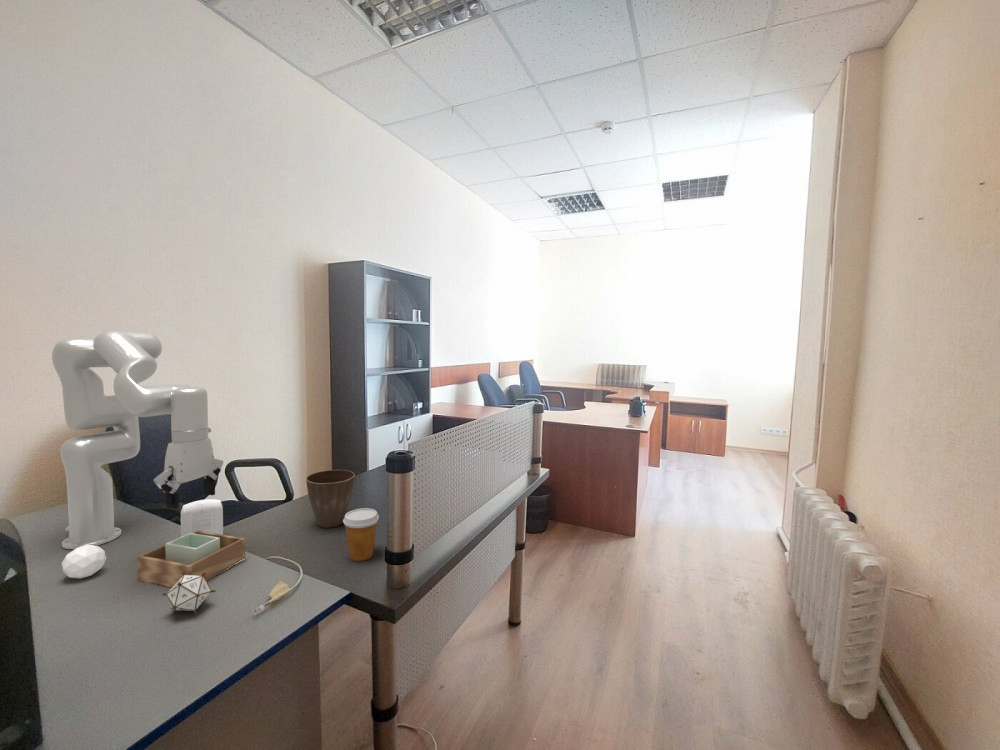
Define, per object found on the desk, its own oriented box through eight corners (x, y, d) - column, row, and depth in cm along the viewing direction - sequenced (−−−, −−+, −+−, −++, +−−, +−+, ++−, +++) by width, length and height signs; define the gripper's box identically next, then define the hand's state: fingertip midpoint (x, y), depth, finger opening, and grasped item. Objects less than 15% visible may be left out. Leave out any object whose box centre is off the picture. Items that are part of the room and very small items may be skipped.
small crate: (166, 570, 106) (165, 543, 105) (191, 557, 112) (190, 532, 112) (196, 576, 103) (195, 549, 103) (220, 563, 110) (219, 537, 109)
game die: (187, 631, 90) (162, 614, 83) (171, 605, 94) (146, 587, 87) (228, 597, 95) (208, 578, 89) (211, 574, 99) (191, 554, 93)
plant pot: (342, 510, 148) (342, 466, 147) (362, 523, 138) (362, 476, 137) (299, 522, 138) (298, 475, 137) (317, 537, 127) (317, 486, 126)
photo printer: (223, 534, 128) (222, 495, 128) (223, 539, 125) (222, 499, 124) (181, 542, 123) (180, 501, 122) (180, 548, 119) (179, 506, 118)
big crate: (137, 580, 103) (137, 556, 102) (198, 551, 118) (197, 530, 117) (189, 591, 98) (188, 567, 98) (245, 559, 113) (245, 538, 113)
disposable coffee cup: (385, 551, 119) (386, 511, 118) (362, 567, 111) (361, 523, 110) (360, 544, 123) (360, 505, 122) (335, 559, 114) (335, 517, 114)
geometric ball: (84, 590, 103) (68, 575, 98) (64, 573, 105) (47, 558, 100) (118, 563, 108) (104, 548, 103) (98, 548, 110) (84, 533, 105)
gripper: (210, 428, 115) (211, 488, 116) (142, 441, 99) (144, 511, 100) (231, 430, 113) (232, 491, 114) (166, 444, 97) (168, 515, 98)
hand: (191, 500), depth 107 cm, fingers open, 9 cm apart
